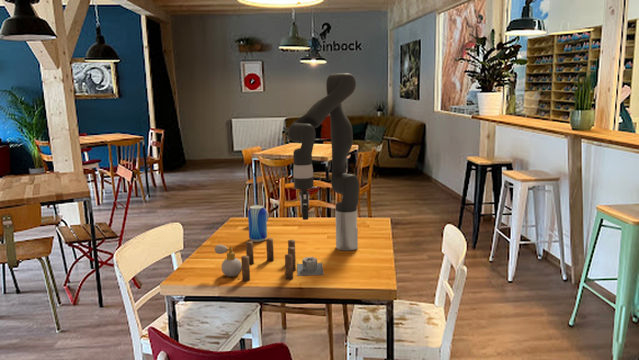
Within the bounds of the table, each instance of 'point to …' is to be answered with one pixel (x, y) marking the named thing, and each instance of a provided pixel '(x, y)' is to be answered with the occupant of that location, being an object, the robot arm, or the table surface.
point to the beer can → (257, 223)
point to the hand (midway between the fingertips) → (305, 216)
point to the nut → (309, 264)
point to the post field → (269, 259)
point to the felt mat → (317, 272)
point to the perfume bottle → (229, 261)
